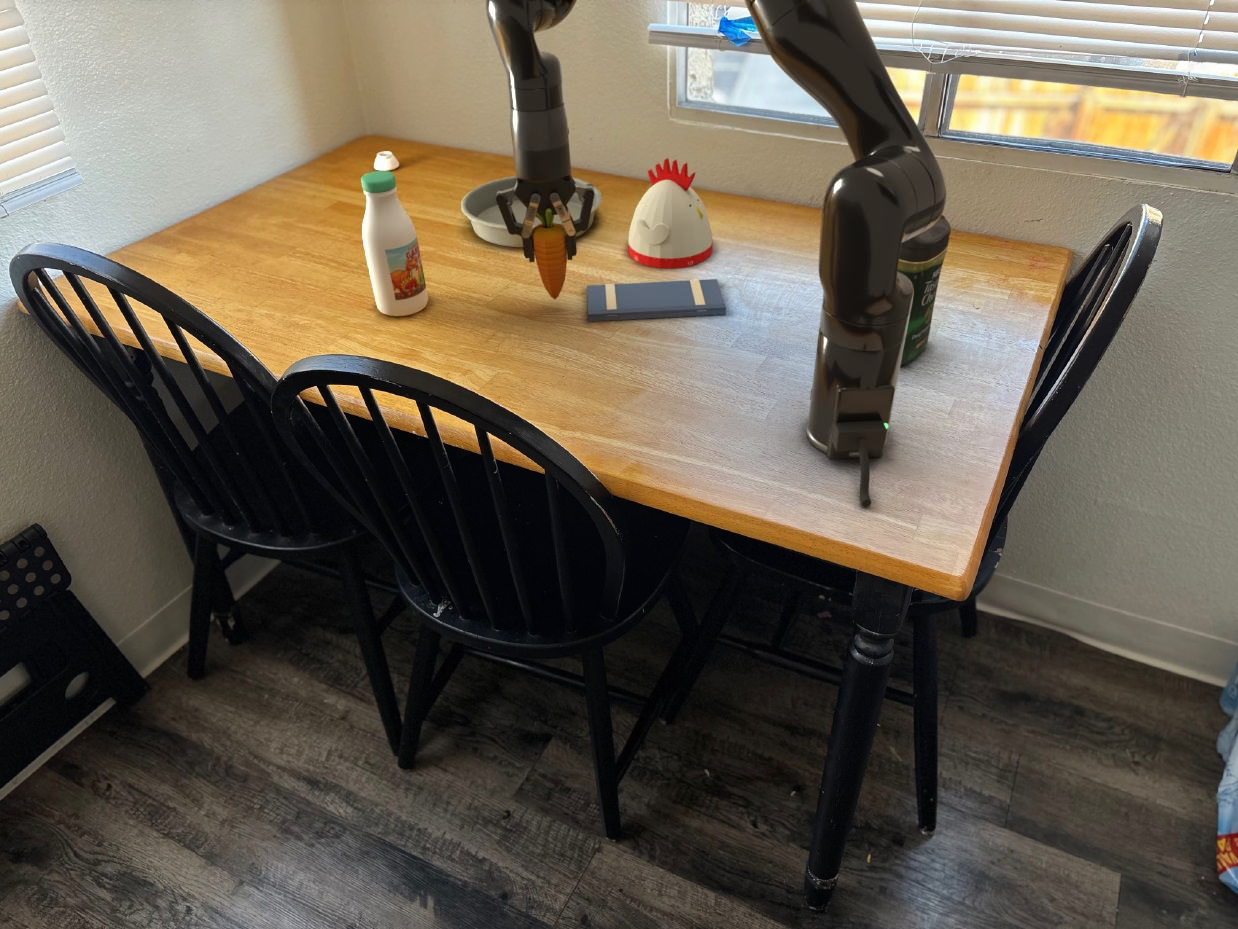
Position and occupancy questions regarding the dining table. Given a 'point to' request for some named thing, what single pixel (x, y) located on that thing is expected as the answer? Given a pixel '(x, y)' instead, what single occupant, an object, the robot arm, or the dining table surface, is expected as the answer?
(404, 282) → the milk bottle
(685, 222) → the kitchen timer
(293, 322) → the dining table surface
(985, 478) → the dining table surface
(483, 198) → the cake pan
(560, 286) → the carrot
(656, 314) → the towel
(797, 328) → the dining table surface
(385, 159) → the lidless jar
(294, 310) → the dining table surface
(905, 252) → the coffee jar
